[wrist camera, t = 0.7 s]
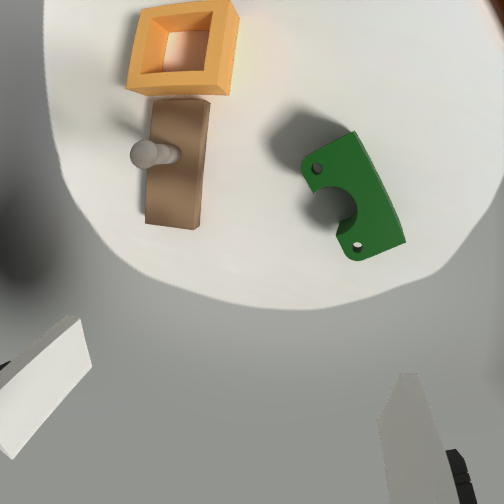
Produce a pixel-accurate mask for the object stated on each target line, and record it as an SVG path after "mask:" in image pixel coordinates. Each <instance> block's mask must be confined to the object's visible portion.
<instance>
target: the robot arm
mask: <svg viewBox="0 0 504 504" xmlns="http://www.w3.org/2000/svg"><path fill="white" fill-rule="evenodd" d="M91 367H92V365H91V361H90V357H89V353H88V350H87V346H86V342H85V338H84V333H83V329H82V325H81V320H80V318H76V317H74V316H71V315H67V316H66V317H64V318H63V319H62V320H61V321H59V322H58V323H57V324H56V325H54V326H53V327H52V328H51V329H50V330H48V331H47V332H46V333H44V334H43V335H42V336H41V337H40V338H38V339H37V340H36V341H35V342H34V343H32V344H31V345H30V346H29V347H27V348H26V349H25V350H24V351H23V352H22V353H20V354H19V355H18V356H17V357H16V358H15V359H13V360H12V361H8V362H6V363H4V364H2V365H0V450H1V451H2V452H4V453H5V454H6V455H7V456H8V457H10V458H11V459H13V458H14V457H15V456H16V455H17V454H18V452H19V451H20V450H21V449H22V447H23V446H24V445H25V444H26V443H27V441H28V440H29V439H30V438H31V437H32V435H33V434H34V433H35V432H36V430H37V429H38V428H39V427H40V426H41V425H42V423H43V422H44V421H45V420H46V419H47V417H48V416H49V415H50V414H51V413H52V412H53V411H54V409H55V408H56V407H57V406H58V405H59V404H60V403H61V401H62V400H63V399H64V398H65V397H66V396H67V394H68V393H69V392H70V391H71V390H72V389H73V388H74V387H75V385H76V384H77V383H78V382H79V381H80V380H81V379H82V377H83V376H84V375H85V374H86V373H87V372H88V371H89V370H90V369H91ZM377 421H378V427H379V433H380V439H381V445H382V451H383V457H384V464H385V471H386V479H387V486H388V495H389V504H477V500H476V497H475V493H474V490H473V486H472V483H470V481H471V479H470V476H469V473H467V472H468V470H467V467H466V463H465V460H464V458H463V457H462V456H461V455H460V454H459V452H458V451H457V450H456V449H452V450H446V451H445V448H444V445H443V442H442V439H441V436H440V433H439V430H438V427H437V424H436V422H435V419H434V416H433V413H432V410H431V408H430V405H429V402H428V400H427V397H426V394H425V392H424V389H423V387H422V384H421V382H420V379H419V377H418V374H417V373H400V375H399V377H398V379H397V381H396V383H395V386H394V388H393V390H392V392H391V394H390V396H389V398H388V400H387V402H386V404H385V406H384V408H383V410H382V412H381V414H380V416H379V418H378V419H377Z"/></svg>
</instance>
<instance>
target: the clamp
mask: <svg viewBox="0 0 504 504" xmlns="http://www.w3.org/2000/svg"><path fill="white" fill-rule="evenodd" d="M314 163H319V164H320V165H321V166H322V169H323V170H322V172H320V173H318V172H316V171H315V170H314V169H313V164H314ZM301 171H302V174H303V176H304V178H305V179H306V181H307V183H308V185H309V187H310V188H311V190H312V192H313V194H314V193H315V192H316V191H317V190H319V189H321V188H323V187H327V186H335V187H339V188H342V189H344V190H346V191H347V192H348V193H349V194H350V195H351V196H352V197H353V198H354V200H355V202H356V205H357V211H356V212H355V213H354V215H353V216H351V217H350V218H348V219H346V220H343V221H340V223H339V226H338V229H337V233H336V237H337V239H338V241H339V243H340V245H341V247H342V249H343V251H344V253H345V255H346V256H347V257H348V258H349V259H351V260H354V261H362V260H364V259H367V258H369V257H372V256H374V255H377V254H379V253H382V252H384V251H386V250H389V249H391V248H394V247H396V246H398V245H401V244H403V243H406V240H405V237H404V233H403V230H402V226H401V224H400V221H399V218H398V216H397V214H396V211H395V209H394V207H393V205H392V202H391V200H390V198H389V196H388V194H387V192H386V189H385V187H384V185H383V183H382V181H381V179H380V177H379V175H378V173H377V171H376V169H375V167H374V165H373V163H372V161H371V159H370V157H369V155H368V153H367V152H366V150H365V148H364V146H363V144H362V142H361V140H360V139H359V137H358V135H357V134H356V132H355V131H353V132H351V133H349V134H347V135H345V136H343V137H341V138H339V139H337V140H335V141H334V142H332V143H330V144H328V145H326V146H324V147H322V148H320V149H318V150H317V151H315V152H313V153H311V154H309V155H307V156H306V157H305V158H304V159H303V161H302V164H301ZM355 242H359V243H361V244H362V246H361V247H355V246H354V245H353V243H355Z"/></svg>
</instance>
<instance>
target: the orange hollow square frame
mask: <svg viewBox="0 0 504 504" xmlns="http://www.w3.org/2000/svg"><path fill="white" fill-rule="evenodd" d="M239 20H240V18H239V16H238V14H237V12H236V10H235V8H234V6H233V4H232V2H231V0H207V1H195V2H186V3H178V4H170V5H164V6H157V7H152V8H146V9H141V13H140V17H139V21H138V25H137V30H136V34H135V39H134V44H133V49H132V54H131V59H130V65H129V71H128V77H127V83H126V89H128V90H131V91H134V92H137V93H140V94H143V95H146V96H161V95H229V94H230V86H231V78H232V70H233V62H234V55H235V47H236V40H237V33H238V26H239ZM193 30H210V32H209V38H208V45H207V51H206V58H205V64H204V71H176V72H162V69H163V63H164V57H165V51H166V45H167V40H168V35H169V33H171V32H181V31H193Z"/></svg>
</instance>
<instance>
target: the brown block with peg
mask: <svg viewBox="0 0 504 504" xmlns="http://www.w3.org/2000/svg"><path fill="white" fill-rule="evenodd" d="M210 104H211V103H209V102H208V101H206V100H161V101H154V102H153V110H152V119H151V129H150V140H141V141H138V142H137V143H135V144H134V145H133V147H132V149H131V151H130V159H131V161H132V163H133V164H134V165H135V166H136V167H138V168H141V169H146V168H147V183H146V208H145V224H152V225H160V226H167V227H175V228H182V229H189V230H195V229H196V228H197V227H199V226H200V211H201V197H202V184H203V172H204V161H205V150H206V140H207V130H208V121H209V112H210Z"/></svg>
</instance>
